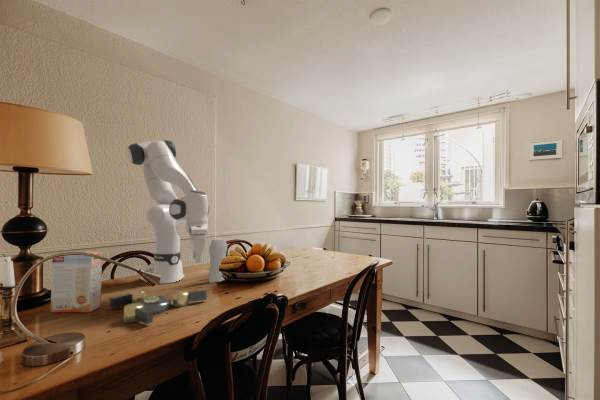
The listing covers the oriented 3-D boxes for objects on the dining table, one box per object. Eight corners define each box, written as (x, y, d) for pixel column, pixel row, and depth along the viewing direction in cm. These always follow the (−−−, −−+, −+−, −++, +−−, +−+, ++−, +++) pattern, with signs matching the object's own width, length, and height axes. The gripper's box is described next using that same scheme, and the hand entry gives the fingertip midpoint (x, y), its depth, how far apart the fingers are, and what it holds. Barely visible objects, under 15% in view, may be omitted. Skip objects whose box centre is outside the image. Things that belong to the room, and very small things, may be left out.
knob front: (120, 320, 91) (120, 306, 91) (137, 314, 96) (137, 301, 96) (140, 328, 85) (141, 314, 85) (158, 322, 89) (158, 308, 90)
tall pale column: (224, 278, 147) (225, 237, 147) (228, 279, 144) (229, 237, 145) (206, 282, 138) (207, 238, 139) (210, 283, 136) (211, 239, 136)
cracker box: (101, 307, 103) (103, 251, 104) (89, 313, 97) (91, 253, 98) (64, 306, 103) (66, 250, 104) (49, 312, 97) (51, 253, 98)
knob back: (141, 299, 111) (141, 288, 111) (148, 302, 108) (148, 291, 108) (107, 308, 101) (107, 296, 101) (114, 311, 98) (114, 299, 98)
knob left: (172, 307, 102) (173, 295, 103) (172, 303, 107) (172, 291, 108) (206, 303, 108) (207, 291, 108) (204, 298, 113) (205, 288, 113)
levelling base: (123, 310, 100) (124, 297, 100) (158, 300, 111) (159, 288, 111) (142, 318, 93) (142, 304, 93) (177, 307, 104) (178, 294, 104)
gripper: (187, 227, 126) (186, 257, 125) (191, 230, 108) (190, 265, 107) (201, 226, 129) (201, 256, 128) (208, 229, 110) (207, 264, 110)
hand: (196, 260), depth 117 cm, fingers open, 8 cm apart
